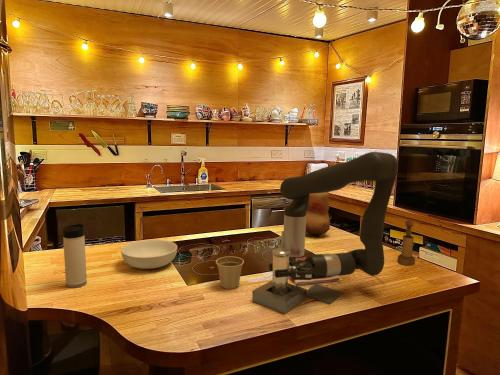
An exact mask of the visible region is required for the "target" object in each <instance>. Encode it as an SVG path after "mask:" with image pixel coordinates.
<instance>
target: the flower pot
mask: <svg viewBox="0 0 500 375" xmlns="http://www.w3.org/2000/svg"><path fill="white" fill-rule="evenodd" d="M244 263H245V260H244V259H243V258H241V257H238V256H231V255H230V256H229V255H228V256H223V257H219V258H217V259H216V260H215V265H217V268H218V270H217V271H218V275H219V282H220V287H221V288H224V289H226V290H234V289H235V288H238V287H240V281H241V279H240V278H241V274H242V273H241V272H242V268H243V264H244Z"/></svg>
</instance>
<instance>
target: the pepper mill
mask: <svg viewBox="0 0 500 375" xmlns="http://www.w3.org/2000/svg"><path fill="white" fill-rule="evenodd" d="M404 224H405V226H406V229H405V235H402V242H401V244H402V246H401V254H398V256H397V259H396V260H397V263H398V264H400V265H402V264H403V266H407V265H412V266H414V265H415V263H416V262H415V261H416V259H415V257H414V256H413V248H414V236H412V233H413V231H412V227H413V226H414V224H415V223H414V220H412V219H407V220H406V221H405V223H404Z"/></svg>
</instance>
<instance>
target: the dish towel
mask: <svg viewBox="0 0 500 375" xmlns="http://www.w3.org/2000/svg"><path fill="white" fill-rule="evenodd" d="M306 257H307V256H302V257H295V258H296V259H295V260H303V261H304V260H305V259H306ZM290 268H291V266H290ZM289 280H291V282H292V283H294V285H295V286H298V287H306V286H314V285H315V284H318V285H326V284H329V285H330V284H337V283H340V282H339V281H340V276H335V277H330V278H320V279H312V280H292V278H289Z"/></svg>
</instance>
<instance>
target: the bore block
mask: <svg viewBox="0 0 500 375" xmlns="http://www.w3.org/2000/svg"><path fill="white" fill-rule="evenodd" d="M307 290H308V288H305V287H303V286H297V285H296V284H291V283H290V282H288V292H287V294H286V295H284V296H280V295H277V294H274V293H272V280H270V281H268V282H266V283H265V284H262V285H260V286H259V287H257V288H255V289H253V290H252V293H251V295H252V298H251V299H252V300H251V301H252V302H253V303H256V304H258V305H261V306H263V307H266V308H269V309H271V310H273V311H276V312H278V313H281V314H284V315H285V314H287V313H289V312H290V311H292V310H294V309H295V308H296V307H297V306H300V305H301V304H302V303H303V302H305V301H306V300H307V297H306V292H307Z"/></svg>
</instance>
